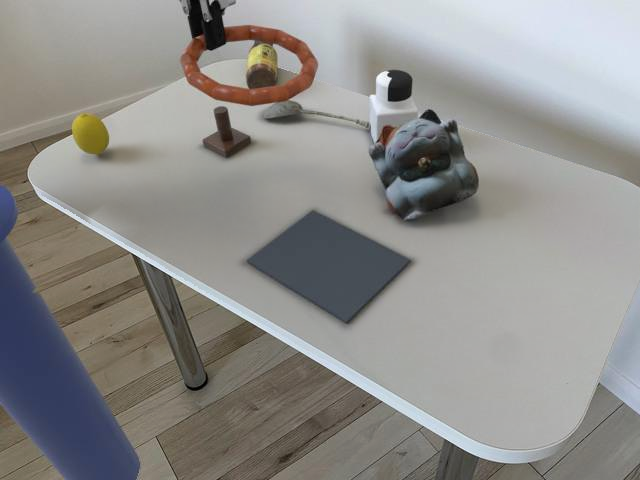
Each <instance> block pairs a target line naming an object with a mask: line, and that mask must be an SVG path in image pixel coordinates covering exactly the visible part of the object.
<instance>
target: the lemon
mask: <svg viewBox="0 0 640 480" xmlns="http://www.w3.org/2000/svg"><path fill="white" fill-rule="evenodd" d="M71 133H72V137H73V140H74V142H75V144H76V146H77V147H78V148H79V149H80V150H81V151H83V152H84V153H86V154H89V155H96V156H100V155H101V154H102V153H104V151H106V149H107V148H108V146H109V144H110V135H109V134H110V133H109V130H108V129H107V127H106V125H105V123H104V122H103V121H102V119H100V117H98V116H97V115H95V114H92V113H85V112H82V113H80V115H78V116H76V117H75V118H74V120H73V122H72V124H71Z"/></svg>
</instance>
